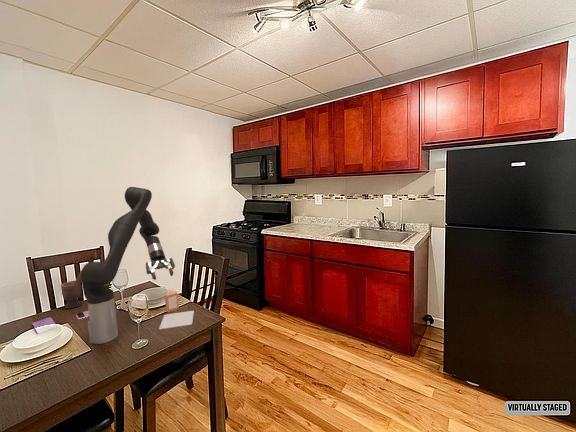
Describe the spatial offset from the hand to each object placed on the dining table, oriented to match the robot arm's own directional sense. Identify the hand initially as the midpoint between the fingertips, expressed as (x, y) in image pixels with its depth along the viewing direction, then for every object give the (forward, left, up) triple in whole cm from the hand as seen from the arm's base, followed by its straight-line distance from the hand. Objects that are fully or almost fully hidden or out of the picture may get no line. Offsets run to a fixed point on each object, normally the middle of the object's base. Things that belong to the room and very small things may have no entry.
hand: (163, 277), depth 146 cm
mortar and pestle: (-47, +12, -15) cm, 51 cm away
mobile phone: (-34, 0, -15) cm, 37 cm away
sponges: (-51, -9, -15) cm, 54 cm away
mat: (+9, -23, -15) cm, 28 cm away
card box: (+5, -11, -15) cm, 19 cm away
